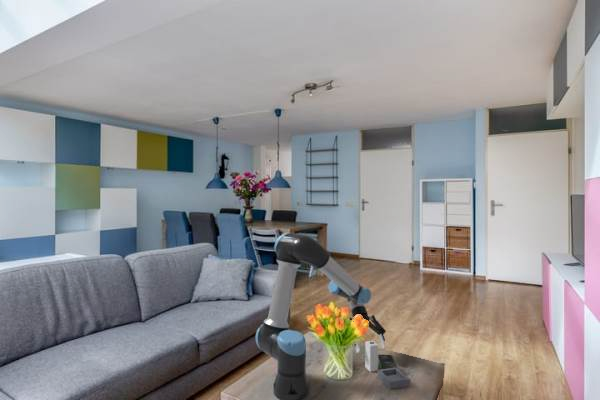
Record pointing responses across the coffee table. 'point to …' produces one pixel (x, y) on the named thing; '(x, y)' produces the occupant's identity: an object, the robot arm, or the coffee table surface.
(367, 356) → the charger
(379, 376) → the charging cradle
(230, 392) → the coffee table surface
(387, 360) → the smartphone
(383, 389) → the coffee table surface
